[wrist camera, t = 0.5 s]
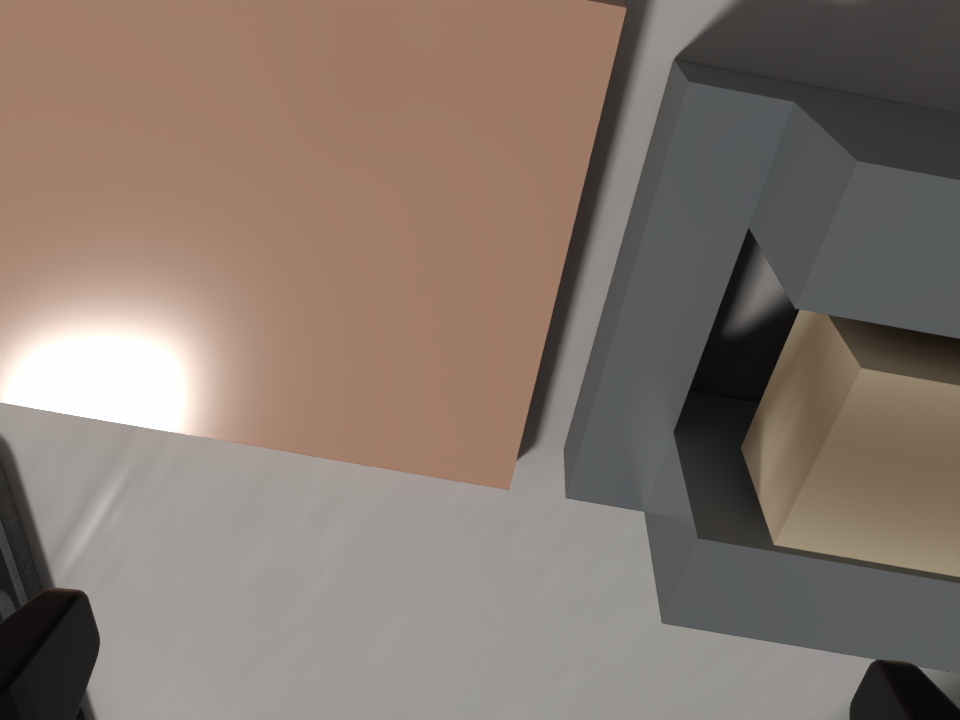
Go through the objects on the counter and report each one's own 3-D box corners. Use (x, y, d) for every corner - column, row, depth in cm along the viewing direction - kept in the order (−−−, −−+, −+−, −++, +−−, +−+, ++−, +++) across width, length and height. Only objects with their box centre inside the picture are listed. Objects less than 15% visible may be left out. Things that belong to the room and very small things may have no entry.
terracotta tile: (510, 466, 22) (508, 490, 22) (-38, 371, 22) (-61, 391, 21) (622, 0, 16) (626, 7, 15) (-142, -148, 16) (-182, -148, 15)
